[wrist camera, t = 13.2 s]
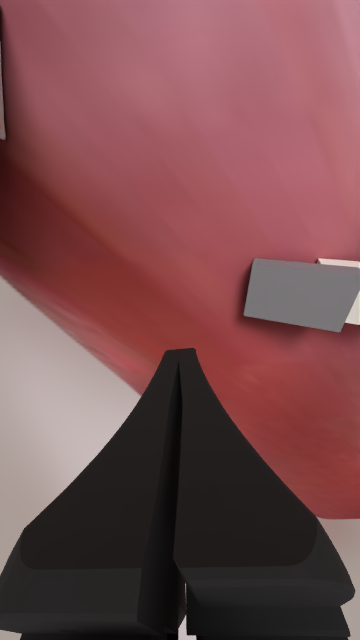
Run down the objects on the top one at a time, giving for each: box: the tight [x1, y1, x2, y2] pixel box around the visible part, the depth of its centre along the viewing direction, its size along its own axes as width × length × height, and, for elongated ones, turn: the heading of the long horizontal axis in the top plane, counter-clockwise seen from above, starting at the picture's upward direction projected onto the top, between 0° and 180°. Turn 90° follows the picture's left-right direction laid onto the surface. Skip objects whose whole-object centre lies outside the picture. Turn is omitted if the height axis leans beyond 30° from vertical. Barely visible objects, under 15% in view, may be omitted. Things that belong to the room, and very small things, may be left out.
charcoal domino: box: [244, 258, 360, 332], centre depth 16 cm, size 2×4×7 cm
